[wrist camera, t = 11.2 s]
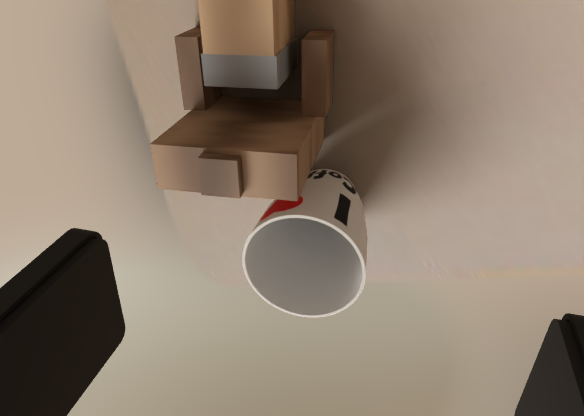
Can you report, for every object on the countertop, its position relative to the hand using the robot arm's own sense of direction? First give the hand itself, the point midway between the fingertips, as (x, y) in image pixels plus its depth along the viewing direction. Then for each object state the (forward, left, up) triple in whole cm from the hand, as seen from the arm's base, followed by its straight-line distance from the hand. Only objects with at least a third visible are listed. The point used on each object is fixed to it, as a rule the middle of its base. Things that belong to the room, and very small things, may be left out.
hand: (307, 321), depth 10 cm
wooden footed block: (+8, +3, -27) cm, 28 cm away
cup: (+4, +12, -27) cm, 30 cm away
